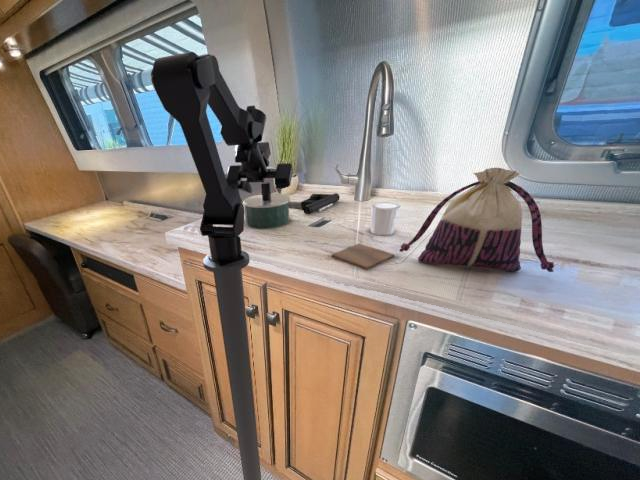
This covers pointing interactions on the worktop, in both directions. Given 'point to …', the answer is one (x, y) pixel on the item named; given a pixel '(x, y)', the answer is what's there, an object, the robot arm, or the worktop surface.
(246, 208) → the lunch tin
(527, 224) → the worktop surface
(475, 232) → the pouch
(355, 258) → the plate
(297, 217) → the worktop surface
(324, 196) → the door handle
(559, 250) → the worktop surface
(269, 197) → the tin lid
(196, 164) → the robot arm
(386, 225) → the white cup
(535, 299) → the worktop surface
